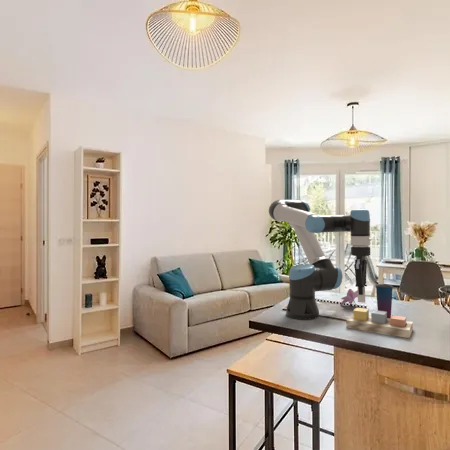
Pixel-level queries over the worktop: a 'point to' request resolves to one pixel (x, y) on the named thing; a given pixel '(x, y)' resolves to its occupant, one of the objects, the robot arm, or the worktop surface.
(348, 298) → the lily
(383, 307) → the cup
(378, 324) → the button board
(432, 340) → the worktop surface
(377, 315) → the grey block
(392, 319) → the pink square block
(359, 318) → the yellow block
